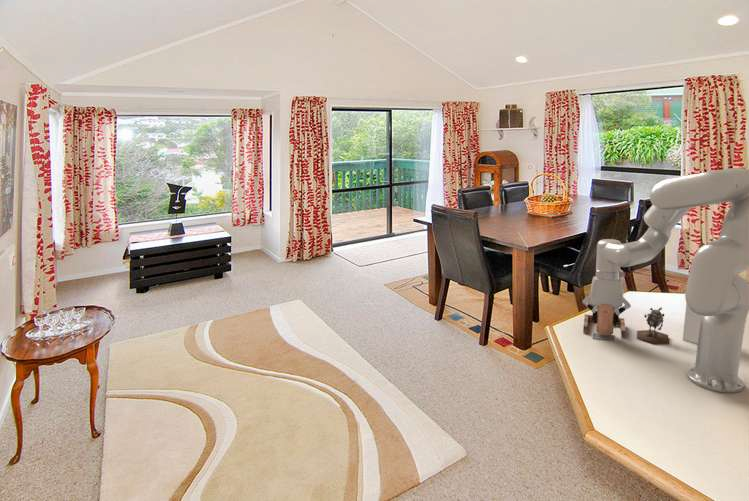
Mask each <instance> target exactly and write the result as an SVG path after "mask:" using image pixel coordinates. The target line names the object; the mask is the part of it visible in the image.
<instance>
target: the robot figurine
mask: <svg viewBox="0 0 749 501" xmlns="http://www.w3.org/2000/svg"><path fill="white" fill-rule="evenodd" d="M662 310H663V307H662V306H660V307H659V308H658V309H653V307H651V308H649V311H650V313H644V314H643V315H644V316H643V317H644V318H647V319H645V320H646V323H647V325H649V326H648V327H649V329H648V330H646V329H645V330H637V331H636V340H638V339H639V341H641V340H642V342H645V343H647V344H651V345H665V344H669V343H670V339H669V338H670V337H669V334H667V333H662V332H659V331H661V330H662V327H663V326H664V325H663V323H664V317H665V313H662V312H661V311H662ZM652 327H653V328H654V330H653V329H652Z"/></svg>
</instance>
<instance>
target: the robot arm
mask: <svg viewBox="0 0 749 501" xmlns="http://www.w3.org/2000/svg"><path fill="white" fill-rule="evenodd" d="M649 201H650V203H651V206H650V207H649V208H648V209H647V211H646V212H645V213H644V215H643V220H644V223H645V224H646V226H648V228H647V230H646V231H645V232H644V234H643V235H642V236H641V237H640V238H639V239H638V240H636V241H630V242H625V243H622V242H621V241H620V240H617V239H615V238H614V239H613V238H606V239H604V238H603V239H600V240H598V242H597V245H596V261H595V262H596V263H595V276H592V281H591V286H590V294H589V295H587V296H586V297H584V299H582V304H583V305H585V306H586V307H587V308H588V309H589V310H590V311H591V313H592V315H593V316H592V320H594V323H593V324H596V323H597V308H598V306H600V304H601V305H611V306H612V307H614V309H615V313H614V327H615V326H616V323H618V321H619V318H620V317H619V316H620V315H621V314H622V313H623V312H625V311H626V310H628V309H630V308H631V303H630V302H629V301H628V300H627V299H626V298H625V297H624V282H623V278H622V277H626V272H623V271H621V267H622V268H627V267H629V268H630V267H632V266H637V265H641V264H645V263H647V262H650V261H652V260H654V258H656V256H657V255H658V254H659V253H660V252H661V251H662V250H663V249H664V248H665V246H666V245H667V244H668V242H669V240H670V237H671V235H672V230H673V229H674V228H675V226H676V225H677V224H678V223H679V222H680V221H681V220H682V219H683V218H684V216H685V215H686V214H687V213H689V211H690V210H691V209H692V208H694V207H701V206H702V207H703V206H712V205H718V204H723V203H724V204H725V203H730V206H729V209H728V211H727V212H726V214H725V216H724V218H723V221H722V226H721V230H720V233H719V236H718V238H717V239H716V240H712V241H708V242H706V243H705V244H702V245H701V246H700V247H699V248H698V249H697V250H696V252H695V253H694V256H693V257H692V261H691V265H690V269H689V274H688V278H687V282H686V287H685V293H684V294H685V295H684V296H685V297H684V298H685V302H687V305H688V306H689V308H690V309H691V310H692V311H693V312H695V313H696V314H699V315H702V316H701V321H700V328H699V337H698V344H697V347H696V355H695V358H696V359H695V364H694V366H693V367H692V368H689V369H688V370H687V378H688V380H690V381H691V382H692V383H694V384H695V385H698V386H699V387H702V388H704V389H706V390H711V391H715V392H718V393H739V392H741V391H742V390H743V389H744V386H745V383H744V381H743V379H742V378H740V377H739V370H740V363H741V361H740V360H741V354H742V349H743V348H742V346H743V341H744V340H743V339H744V334H745V327H746V323H747V318H748V313H749V282H748V280H747V279H746V278H744V277H742V276H740V275H737V274H740V273H744V272H746V271H749V168H742V167H741V168H740V167H734V168H725V169H717V170H710V171H706V172H699V173H694V174H689V175H684V176H679V177H674V178H666V179H662V180H660V181H657V183H656V184H655V185H654V186H653V187H652V188H651V190H650V193H649ZM616 327H617V326H616Z"/></svg>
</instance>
